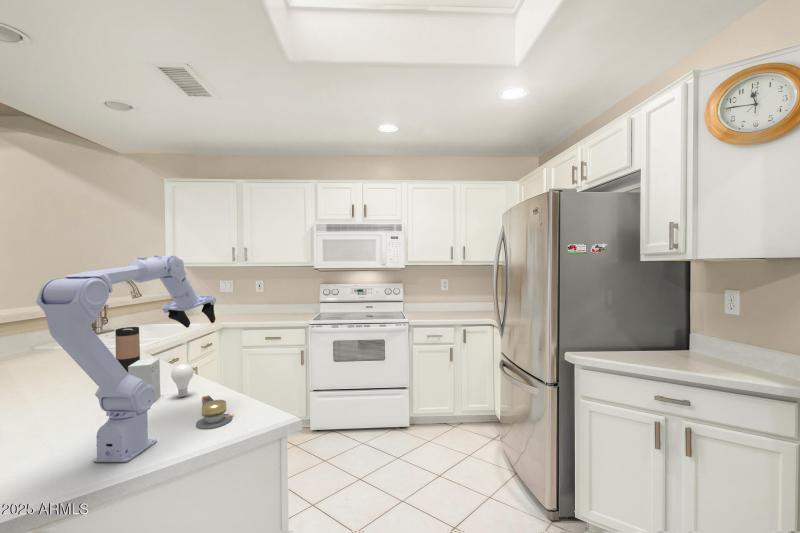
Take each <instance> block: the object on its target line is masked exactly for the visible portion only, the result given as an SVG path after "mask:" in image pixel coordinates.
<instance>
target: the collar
mask: <svg viewBox="0 0 800 533" xmlns="http://www.w3.org/2000/svg"><path fill="white" fill-rule="evenodd" d="M201 404H202V405H201V415H202V418H204V417H214V416H218V415H221V414H226V412H227V400H224V399H215V400H214V399H213V398H212V397H211V395H209V394H208V395H204V396H202V397H201Z"/></svg>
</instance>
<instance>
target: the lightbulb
mask: <svg viewBox="0 0 800 533" xmlns="http://www.w3.org/2000/svg"><path fill="white" fill-rule="evenodd" d="M194 372H195V371H194V369H193V366H191V365H190V364H188V363H182V364H178V365H175V367H174V368H173V369H172V370H171V374H170V375H171V376H170V377H171V379H172V381H173V382H174V384H176V388H177V392H178V394H177V395H178V397H180V398H184V397H186V396H188V394H189V393H188V387H189V384H190V381H191V380H192V379H193V376H194Z"/></svg>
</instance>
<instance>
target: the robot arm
mask: <svg viewBox="0 0 800 533" xmlns="http://www.w3.org/2000/svg"><path fill="white" fill-rule="evenodd" d="M159 279H160V281H161V283H162V284H163V285H164V287H165V289H166V290H167V291H168V293H169V295H170V296H171V299H172V300H173V301H171V302H167V303H163V305H162V307H161V310H162V311H163V313H164V314H166V313H167V314H168V316H167V317H168V318H169V319H170V320H174V321H175V322H177V323H179V324H181V325H182V326H184V327H185V328H186V329H187V328H189V327H190V326H191V320H190V318H189V317H188V316H187V314H186V311H190V310H193V309H195V308H197V307H200V306H202V308H201V313H203V314H204V315H205V316H206V318H208V320H209V322H210V323H211V324H214V323H215V321H216V315H215V305H216V302H217V298H216V297H215V295H198V294H197V293H196V291H195V290H194V288H193V286H192V284H191V282H190V280H188V278H187V273H186V271H185V264H184V260H183V259H181V258H180V257H178V256H176V255H161V254H159V255H156V254H154V255H153V256H151V257H148V258H147V256H138V257H137V259H135V260H132V261H130V263H129V264H128V266H121V267H120V266H119V267H112V268H104V269H96V270H88V271H83V272H78V273H73V274H68V275H67V274H66V275H64V276H63V278H51V279H49V280H47V281H46V282H44V283H43V284H42V285H41V287H40V289H39V292H38V296H37V299H36V301H35V303H36V304H37V305H38V306H39V307H40V309H41V310H42V311H43V312H44V315H45V319H46V323H47V327H48V331H49V334H50V336H51V337H52V338H53V340H55V341H56V342H57V343H58V345H59V346H61V348H62V349H63V350H64V351H65V352H66V353H67V354H68V355H69V356H70V357H71V359H72V360H73V361H74V362H75V363H76V364H77V366H79V367H80V369H81V370H83V372H84V373H85V374H86V375H87V376H88V377H89V378H90V379H91V380H92V381H93V382H94V383H95V385H97V387H98V388H97V390H96V391H95V394H94V395H95V397H96V398H97V399H98V404H99V408H101V410H102V411H104V412H106V416H105V417H108V419H107V421H106V422H105V423H104V424H102V425H101V426H100V427H99V428H98V430H97V432H96V457H95V458H94V459H93V463H127V462H129V461H130V460H132V459H134V458H135V457H136V456H138V455H139V454H141V453H142V452H144V451H145V450H146V449H149V447H151V446H153V445H154V444H155V443H157V442H158V439H154V438H152V439H151V438H150V439H149V433H148V432H149V431H148V430H149V429H148V427H149V425H148V424H149V422H148V419H149V418H148V411H149V410H151V407H152V406H153V404H154V403H155V402H154V400H155V397H156V391H155V388H154V387H153V386H152V385H150V384H147V383H145V382H144V381H143V380H142V379H140V378H138V377H135V376H132V375H130V374H128V372H127V371H126V370H125V369H124V368H123V366H122V365H121V364H120V363H119V361H118V360H117V359H116V356H115V355H114V354H113V353H112V352H111V350H110V349H109V348H108V346H107V345H106V344H105V343H104V342H103V341H102V339H101V338H100V337H99V336H98V334H97V333H96V332H95V331H94V330H93V329H92V327H91V325H92V324H93V323H95V322H96V321H97V318H98V317H99V315H100V313H101V312H102V310H103V308H104V307H105V304H106V303H107V301H108V298H109V296H110V293H112V292H113V285H115V284H119V283H123V282H127V281H131V280H132V281H133V282H136V283H145V282H149V281H150V282H151V281H153V280H159Z"/></svg>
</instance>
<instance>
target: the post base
mask: <svg viewBox="0 0 800 533" xmlns="http://www.w3.org/2000/svg"><path fill="white" fill-rule="evenodd" d="M233 416H235V414H234V413H233V414H229V413H223V414H221V415H218V416H214V417H202V418H200V419H199V420H198V421H197V422H195V427H196V428H197V429H199V430H212V429H216V428H220V427H223V426H226V425H227V424H230V423H231V422H232V420H233Z"/></svg>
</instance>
